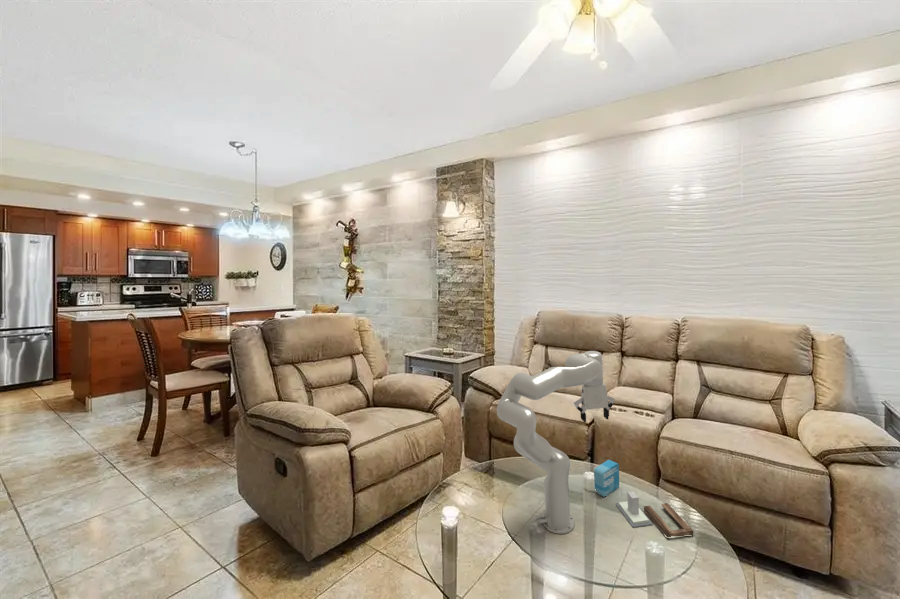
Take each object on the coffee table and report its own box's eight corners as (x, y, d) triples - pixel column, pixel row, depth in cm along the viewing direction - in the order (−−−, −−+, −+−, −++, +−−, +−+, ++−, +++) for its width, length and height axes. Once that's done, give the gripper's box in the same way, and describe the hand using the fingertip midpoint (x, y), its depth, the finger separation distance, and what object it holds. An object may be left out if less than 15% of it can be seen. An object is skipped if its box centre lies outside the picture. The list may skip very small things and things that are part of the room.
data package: (603, 498, 177) (602, 473, 175) (594, 493, 181) (593, 468, 179) (619, 486, 183) (618, 462, 182) (610, 482, 187) (609, 458, 185)
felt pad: (633, 527, 158) (632, 526, 158) (615, 504, 172) (615, 503, 172) (652, 525, 159) (652, 523, 159) (634, 502, 173) (633, 500, 172)
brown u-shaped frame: (667, 539, 151) (667, 534, 151) (644, 511, 167) (643, 506, 166) (693, 535, 152) (693, 530, 151) (667, 507, 167) (667, 503, 167)
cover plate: (633, 524, 159) (633, 505, 158) (618, 504, 171) (618, 486, 170) (648, 522, 160) (648, 503, 158) (632, 502, 171) (632, 484, 170)
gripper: (576, 386, 165) (578, 425, 168) (617, 381, 166) (619, 420, 169) (569, 380, 173) (571, 418, 175) (609, 375, 174) (610, 413, 176)
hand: (595, 419), depth 172 cm, fingers open, 9 cm apart
